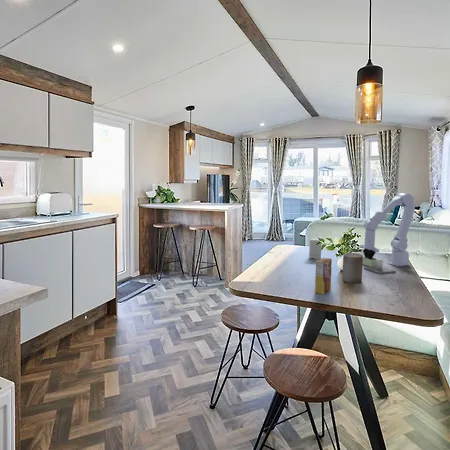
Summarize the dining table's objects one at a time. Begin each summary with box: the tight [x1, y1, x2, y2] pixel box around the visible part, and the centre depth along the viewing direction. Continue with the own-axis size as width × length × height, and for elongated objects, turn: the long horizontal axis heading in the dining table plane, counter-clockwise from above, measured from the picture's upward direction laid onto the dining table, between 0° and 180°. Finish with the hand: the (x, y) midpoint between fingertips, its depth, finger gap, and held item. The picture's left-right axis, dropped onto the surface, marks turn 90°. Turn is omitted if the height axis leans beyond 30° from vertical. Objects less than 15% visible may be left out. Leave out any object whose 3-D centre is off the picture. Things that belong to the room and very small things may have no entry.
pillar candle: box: [341, 252, 364, 284], centre depth 188 cm, size 10×10×15 cm
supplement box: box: [308, 238, 322, 260], centre depth 240 cm, size 7×7×13 cm
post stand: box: [363, 258, 397, 275], centre depth 209 cm, size 12×12×6 cm
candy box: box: [314, 257, 333, 295], centre depth 170 cm, size 9×4×15 cm, turn 140°
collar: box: [362, 256, 379, 267], centre depth 222 cm, size 8×8×4 cm
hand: (368, 261), depth 225 cm, fingers closed on collar
